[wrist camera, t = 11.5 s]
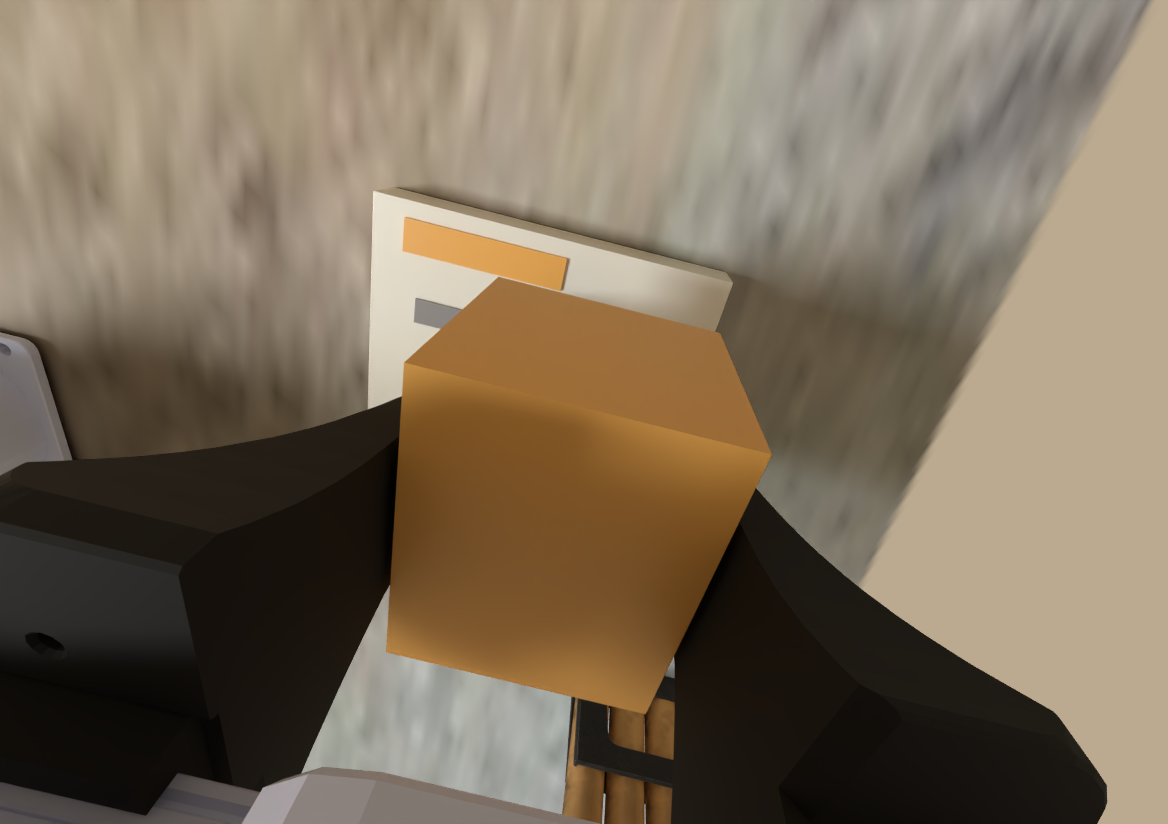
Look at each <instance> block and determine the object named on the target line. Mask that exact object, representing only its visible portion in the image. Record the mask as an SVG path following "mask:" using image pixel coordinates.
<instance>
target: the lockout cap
mask: <svg viewBox="0 0 1168 824" xmlns="http://www.w3.org/2000/svg"><path fill="white" fill-rule="evenodd" d="M771 456H772V454H771V451H770V449H769V447H768V444H767V442H766V439H765V437H764V435H763V432H762V430H761V428H760V425H759V423H758V421H757V418H756V416H755V414H754V411H753V409H752V407H751V404H750V402H749V400H748V397H747V395H746V393H745V390H744V388H743V386H742V383H741V381H740V378H739V376H738V374H737V371H736V369H735V367H734V364H733V362H732V360H731V357H730V355H729V353H728V350H727V348H726V346H725V343H724V341H723V339H722V336H721V334H720V333H718V332H714V331H710V330H706V329H702V328H698V327H694V326H690V325H687V324H683V323H679V322H675V321H671V320H667V319H663V318H659V317H655V316H651V315H647V314H643V313H639V312H635V311H632V310H628V309H624V308H620V307H616V306H612V305H608V304H604V303H600V302H596V301H592V300H588V299H584V298H580V297H577V296H573V295H569V294H565V293H561V292H557V291H553V290H549V289H545V288H541V287H537V286H533V285H529V284H525V283H522V282H518V281H514V280H510V279H506V278H502V277H498V278H497V279H495V280H494V281H493V282H492V283H491V284H490V285H489V286H488V287H487V288H486V289H484V290H483V291H482V292H481V293H480V294H479V295H478V296H477V297H476V298H475V299H473V300H472V301H471V302H470V303H469V304H468V305H467V306H466V307H465V308H463V309H462V310H461V311H460V312H459V313H458V314H457V315H456V316H455V317H454V318H452V319H451V320H450V321H449V322H448V323H447V324H446V325H445V326H444V327H443V328H441V329H440V330H439V331H438V332H437V333H436V334H435V335H434V336H433V337H432V338H430V339H429V340H428V341H427V342H426V343H425V344H424V345H423V346H422V347H420V348H419V349H418V350H417V351H416V352H415V353H414V354H413V355H412V356H411V357H409V358H408V359H407V360H406V361H405V362H404V370H403V386H402V402H401V418H400V435H399V451H398V467H397V483H396V499H395V516H394V532H393V548H392V564H391V580H390V597H389V613H388V629H387V645H386V652H388V653H392V654H396V655H401V656H405V657H409V658H413V659H417V660H421V661H426V662H430V663H434V664H438V665H442V666H446V667H451V668H455V669H459V670H463V671H467V672H471V673H476V674H480V675H484V676H488V677H492V678H496V679H501V680H505V681H509V682H513V683H517V684H521V685H526V686H530V687H534V688H538V689H542V690H546V691H551V692H555V693H559V694H563V695H567V696H571V697H575V698H580V699H584V700H588V701H592V702H596V703H600V704H605V705H609V706H613V707H617V708H621V709H625V710H630V711H634V712H638V713H642V714H646V712H647V710H648V708H649V706H650V704H651V702H652V700H653V698H654V696H655V694H656V692H657V690H658V688H659V686H660V684H661V682H662V680H663V677H664V675H665V673H666V671H667V669H668V667H669V665H670V663H671V661H672V659H673V657H674V655H675V653H676V651H677V649H678V647H679V645H680V643H681V641H682V638H683V636H684V634H685V632H686V630H687V628H688V626H689V624H690V622H691V620H692V618H693V616H694V614H695V612H696V610H697V608H698V606H699V604H700V602H701V599H702V597H703V595H704V593H705V591H706V589H707V587H708V585H709V583H710V581H711V579H712V577H713V575H714V573H715V571H716V569H717V567H718V565H719V563H720V560H721V558H722V556H723V554H724V552H725V550H726V548H727V546H728V544H729V542H730V540H731V538H732V536H733V534H734V532H735V530H736V528H737V526H738V524H739V521H740V519H741V517H742V515H743V513H744V511H745V509H746V507H747V505H748V503H749V501H750V499H751V497H752V495H753V493H754V491H755V489H756V487H757V485H758V482H759V480H760V478H761V476H762V474H763V472H764V470H765V468H766V466H767V464H768V462H769V460H770V458H771Z"/></svg>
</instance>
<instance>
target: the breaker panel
mask: <svg viewBox="0 0 1168 824" xmlns="http://www.w3.org/2000/svg"><path fill="white" fill-rule="evenodd" d="M498 277H502V278H506V279H510V280H514V281H518V282H522V283H525V284H529V285H533V286H537V287H541V288H545V289H549V290H553V291H557V292H561V293H565V294H569V295H573V296H577V297H580V298H584V299H588V300H592V301H596V302H600V303H604V304H608V305H612V306H616V307H620V308H624V309H628V310H632V311H635V312H639V313H643V314H647V315H651V316H655V317H659V318H663V319H667V320H671V321H675V322H679V323H683V324H687V325H690V326H694V327H698V328H702V329H706V330H710V331H714V332H715V331H716V328H717V326H718V323H719V320H720V318H721V315H722V312H723V310H724V307H725V304H726V301H727V299H728V296H729V293H730V291H731V288H732V285H733V282H732V281H731V279H730V278H729V276H728V275H727V273H726V272H723V271H719V270H715V269H711V268H707V267H703V266H699V265H696V264H692V263H688V262H684V261H680V260H676V259H672V258H668V257H664V256H660V255H657V254H653V253H649V252H645V251H641V250H637V249H633V248H629V247H625V246H621V245H618V244H614V243H610V242H606V241H602V240H598V239H594V238H590V237H586V236H583V235H579V234H575V233H571V232H567V231H563V230H559V229H555V228H551V227H547V226H544V225H540V224H536V223H532V222H528V221H524V220H520V219H516V218H512V217H508V216H505V215H501V214H497V213H493V212H489V211H485V210H481V209H477V208H473V207H470V206H466V205H462V204H458V203H454V202H450V201H446V200H442V199H438V198H434V197H431V196H427V195H423V194H419V193H415V192H411V191H407V190H403V189H399V188H389V189H382V190H376V191H373V228H372V267H371V306H370V344H369V383H368V409H370V408H373V407H376V406H379V405H381V404H384V403H386V402H388V401H391V400H393V399H396V398H398V397H401V396H402V386H403V370H404V362H405V361H406V360H407V359H408V358H409V357H411V356H412V355H413V354H414V353H415V352H416V351H417V350H418V349H419V348H420V347H422V346H423V345H424V344H425V343H426V342H427V341H428V340H429V339H430V338H432V337H433V336H434V335H435V334H436V333H437V332H438V331H439V330H440V329H441V328H443V327H444V326H445V325H446V324H447V323H448V322H449V321H450V320H451V319H452V318H454V317H455V316H456V315H457V314H458V313H459V312H460V311H461V310H462V309H463V308H465V307H466V306H467V305H468V304H469V303H470V302H471V301H472V300H473V299H475V298H476V297H477V296H478V295H479V294H480V293H481V292H482V291H483V290H484V289H486V288H487V287H488V286H489V285H490V284H491V283H492V282H493V281H494V280H495V279H497V278H498Z"/></svg>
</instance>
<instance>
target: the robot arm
mask: <svg viewBox="0 0 1168 824" xmlns="http://www.w3.org/2000/svg"><path fill="white" fill-rule="evenodd" d="M401 402H402V396H401V397H398V398H396V399H393V400H391V401H388V402H386V403H384V404H381V405H379V406H376V407H373V408H370V409H368V410H365V411H362V412H359V413H356V414H353V415H351V416H348V417H345V418H342V419H339V420H336V421H333V422H330V423H327V424H323V425H320V426H316V427H313V428H309V429H305V430H301V431H297V432H293V433H289V434H285V435H281V436H277V437H272V438H267V439H261V440H256V441H250V442H245V443H239V444H233V445H228V446H222V447H216V448H210V449H202V450H194V451H186V452H178V453H168V454H158V455H148V456H136V457H124V458H105V459H85V460H72V457H71V454H70V450H69V447H68V444H67V441H66V437H65V434H64V431H63V428H62V425H61V421H60V418H59V415H58V412H57V408H56V405H55V402H54V399H53V396H52V392H51V389H50V386H49V383H48V379H47V376H46V373H45V370H44V367H43V363H42V360H41V357H40V354H39V351H38V349H37V347H36V346H35V345H34V344H33V343H32V342H30V341H29V340H26V339H24V338H21V337H17V336H13V335H9V334H5V333H1V332H0V824H600V823H595V822H591V821H587V820H583V819H578V818H574V817H570V816H566V815H561V814H557V813H553V812H549V811H544V810H540V809H536V808H532V807H527V806H523V805H519V804H515V803H511V802H506V801H502V800H498V799H494V798H489V797H485V796H481V795H477V794H472V793H468V792H464V791H460V790H455V789H451V788H447V787H443V786H438V785H434V784H430V783H426V782H421V781H417V780H413V779H409V778H405V777H400V776H396V775H392V774H388V773H383V772H374V771H363V770H352V769H341V768H330V767H321V768H318V769H315V770H311V771H308V772H305V773H302V774H301V772H302V770H303V768H304V765H305V763H306V761H307V758H308V756H309V754H310V752H311V749H312V747H313V745H314V742H315V740H316V738H317V736H318V734H319V731H320V729H321V727H322V725H323V723H324V720H325V718H326V716H327V714H328V711H329V709H330V707H331V705H332V703H333V700H334V698H335V696H336V694H337V691H338V689H339V687H340V685H341V683H342V681H343V679H344V676H345V674H346V672H347V670H348V668H349V666H350V664H351V662H352V660H353V657H354V655H355V653H356V651H357V649H358V647H359V645H360V643H361V640H362V638H363V636H364V634H365V632H366V630H367V628H368V626H369V624H370V622H371V620H372V618H373V616H374V614H375V612H376V610H377V608H378V606H379V604H380V602H381V600H382V598H383V596H384V594H385V592H386V591H387V589H388V587H389V585H390V580H391V564H392V548H393V532H394V516H395V499H396V483H397V467H398V451H399V435H400V418H401ZM674 661H675V715H674V756H673V783H672V806H671V824H1097V823H1098V821H1099V819H1100V817H1101V816H1102V814H1103V812H1104V810H1105V807H1106V804H1107V786H1106V783H1105V782H1104V781H1103V779H1102V777H1101V776H1100V774H1099V773H1098V771H1097V770H1096V769H1095V767H1094V766H1093V764H1092V763H1091V761H1090V760H1089V759H1088V757H1087V756H1086V754H1085V753H1084V752H1083V750H1082V749H1081V748H1080V746H1079V745H1078V744H1077V742H1076V741H1075V739H1074V738H1073V736H1072V735H1071V734H1070V732H1069V731H1068V729H1067V728H1066V727H1065V725H1064V724H1063V722H1062V721H1061V720H1060V718H1059V717H1058V716H1057V715H1056V714H1055V713H1054V712H1053V711H1051V710H1050V709H1048V708H1046V707H1044V706H1043V705H1041V704H1039V703H1037V702H1036V701H1034V700H1032V699H1030V698H1029V697H1027V696H1025V695H1023V694H1022V693H1020V692H1018V691H1016V690H1015V689H1013V688H1011V687H1009V686H1008V685H1006V684H1004V683H1002V682H1001V681H999V680H997V679H995V678H994V677H992V676H990V675H988V674H987V673H985V672H983V671H981V670H980V669H978V668H976V667H974V666H973V665H971V664H970V663H968V662H966V661H965V660H963V659H962V658H960V657H958V656H957V655H955V654H954V653H952V652H950V651H949V650H947V649H946V648H944V647H943V646H941V645H940V644H938V643H936V642H935V641H933V640H932V639H930V638H929V637H927V636H926V635H924V634H923V633H921V632H920V631H918V630H917V629H915V628H914V627H912V626H911V625H910V624H908V623H907V622H905V621H904V620H902V619H901V618H899V617H898V616H896V615H895V614H894V613H892V612H891V611H890V610H889V609H887V608H886V607H884V606H883V605H882V604H880V603H879V602H878V601H876V600H875V599H874V598H872V597H871V596H870V595H868V594H867V593H866V592H864V591H863V590H862V589H861V588H859V587H858V586H857V585H856V584H854V583H853V582H852V581H850V580H849V579H848V578H847V577H846V576H844V575H843V574H842V573H841V572H840V571H839V570H837V569H836V568H835V567H834V566H833V565H832V564H831V563H829V562H828V561H827V560H826V559H825V558H824V557H822V556H821V555H820V554H819V553H818V552H817V551H816V550H815V549H814V548H813V547H811V546H810V545H809V544H808V543H807V542H806V541H805V540H804V539H803V538H802V537H801V536H800V535H799V534H798V533H797V532H796V531H795V530H794V529H793V528H792V527H791V526H790V525H789V524H788V523H787V522H786V521H785V520H784V519H783V518H782V517H781V515H780V514H779V513H778V512H777V511H776V510H775V509H774V508H773V507H772V506H771V505H770V504H769V502H768V501H767V500H766V499H765V498H764V497H763V496H762V495H761V493H760V492H759V491H758V490H757V489H755V491H754V493H753V495H752V497H751V499H750V501H749V503H748V505H747V507H746V509H745V511H744V513H743V515H742V517H741V519H740V521H739V524H738V526H737V528H736V530H735V532H734V534H733V536H732V538H731V540H730V542H729V544H728V546H727V548H726V550H725V552H724V554H723V556H722V558H721V560H720V563H719V565H718V567H717V569H716V571H715V573H714V575H713V577H712V579H711V581H710V583H709V585H708V587H707V589H706V591H705V593H704V595H703V597H702V599H701V602H700V604H699V606H698V608H697V610H696V612H695V614H694V616H693V618H692V620H691V622H690V624H689V626H688V628H687V630H686V632H685V634H684V636H683V638H682V641H681V643H680V645H679V647H678V649H677V651H676V653H675V655H674Z"/></svg>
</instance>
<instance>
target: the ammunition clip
mask: <svg viewBox="0 0 1168 824" xmlns="http://www.w3.org/2000/svg"><path fill="white" fill-rule="evenodd" d="M609 708H610V716H609V734H608V713H609ZM674 715H675V679H673V678H670V677H666V676H664V677H663V680H662V682H661V684H660V686H659V688H658V690H657V692H656V694H655V696H654V698H653V700H652V702H651V704H650V706H649V708H648V710H647V712H646V714H642V713H638V712H634V711H630V710H625V709H621V708H617V707H613V706H609V705H605V704H600V703H596V702H592V701H588V700H584V699H580V698H575V697H572V698H571V711H570V725H569V738H568V752H567V765H566V779H565V782H566V785H565V794H564V803H563V811H562V815H566V816H570V817H574V818H578V819H583V820H587V821H591V822H595V823H600V824H602V809H603V793H605V794H606V798H605V819H604V824H644V804H646V824H671V806H672V783H673V756H674ZM644 719H645V753H644Z"/></svg>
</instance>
